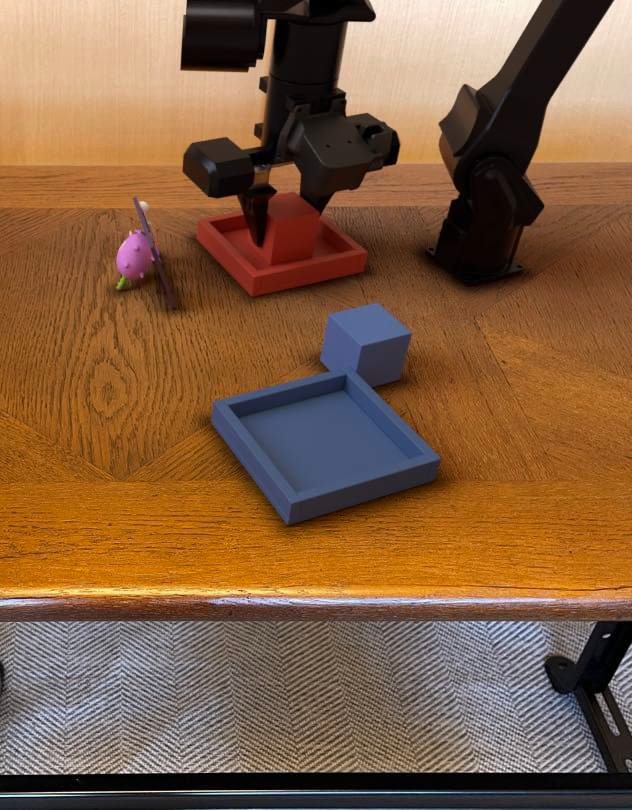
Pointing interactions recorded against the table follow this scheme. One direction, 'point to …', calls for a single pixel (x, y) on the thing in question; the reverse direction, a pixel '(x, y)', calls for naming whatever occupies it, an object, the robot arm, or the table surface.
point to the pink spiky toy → (140, 253)
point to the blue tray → (323, 444)
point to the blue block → (366, 343)
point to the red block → (288, 229)
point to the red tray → (258, 277)
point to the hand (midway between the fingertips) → (280, 240)
